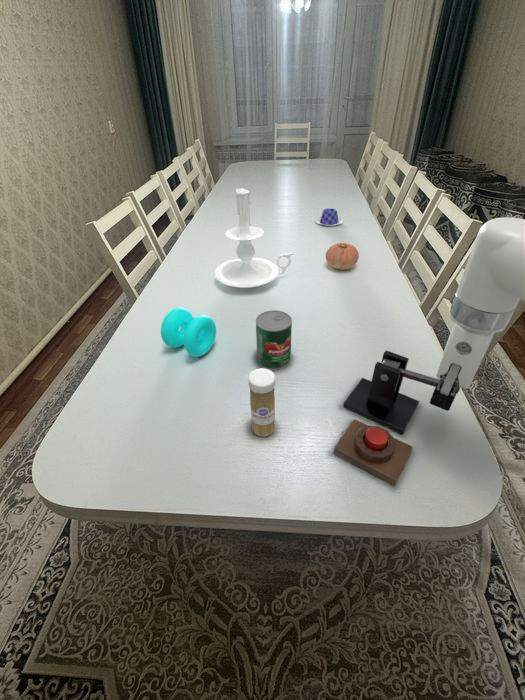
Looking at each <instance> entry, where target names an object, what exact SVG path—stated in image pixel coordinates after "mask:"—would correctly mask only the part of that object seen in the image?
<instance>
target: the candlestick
mask: <svg viewBox="0 0 525 700" xmlns="http://www.w3.org/2000/svg"><path fill="white" fill-rule="evenodd" d="M250 198H251V197H250V190H248V189H246V188H244V187H240V188H236V189H235V201H236V208H237V215H238V225H239V226H234V227H232V228H229V229H228V230H226V231H225V232H224V234H225V237H227V238H228V239H230V240H235V241H238V245H237V247H236V250H235V254H236V256H237V258H235V259H231V260H226V261H224V262H223V263H221V264H219V265H217V267H216V268H215V269H214V271H213V276H214V278H215V279H216V280H217V282H219V283H221V284H223V285H225V286H228V287H233V288H237V289H253V288H258V287H260V286H264V285H266V284H269V283H271V282H272V281H274V280H275V279H277V278H278V276H279V275H283V274H285V272H286V270H287V268H289V267H290V265H291V263H292V261H291V256H293V252H289V253H282V254H281V253H280V254H279V255H278V256H277V257H276V260H275V263H276V264H275V263H274V262H272V261H270V260H267V259H263V258H259V257H255V254H256V249H255V247H254V245H253V244H252V242H251V241H252V240H255V239H259V238H261V237H262V236H264V233H265V231H264V229H262V228H261V227H258V226H253V225H251V199H250ZM281 258H287V260H288V262H287V263H286V264H284V265H281V264H280V263H279V260H280V259H281ZM280 269H282V271H280Z"/></svg>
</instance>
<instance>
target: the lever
mask: <svg viewBox="0 0 525 700" xmlns="http://www.w3.org/2000/svg"><path fill="white" fill-rule="evenodd" d="M383 364H385V365H388V366H391V367H393V368H396V369H398V370H401V374H400V376H402V377H403V378H406V379H408V380H412V381H415V382H417V383H422V384H425V385H428V386H431V387H434V388H435V387H436V385H437V386H438V384H439V381H440V379H438V378H437V377H433V376H429V375H426V374H423V373H420V372H416V371H413V370H409V369H407V368H406V369H403V368H400V365H401V363H400V362H396V361H393V360H390V359H385V360H384V362H383ZM444 382H445V380H444V381H443V383H444ZM454 386H455V383H453V385H452V387H453V388H454ZM460 390H461V387H460V386H458V388H457V390H456V392H455V393H457V394H458V393H459V392H460Z"/></svg>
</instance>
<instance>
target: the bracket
mask: <svg viewBox="0 0 525 700" xmlns="http://www.w3.org/2000/svg"><path fill="white" fill-rule="evenodd" d="M385 359H390V360H393V361H396V362H400V363H401V365H400V368H403V369H406V370H407V366H408V365H409V360H410V358H409V357H406V356H404V355H400V354H397V353H395V352H392V351H389V350H387V349H386V350H385V351H383V354H382V358H381V362H380V361H376V362H375V364H374V369H373V373H372V376H371V380H369V379H367V378H364V377H362V378H361V379H360V380H359V381H358V383H357V384H356V385H355V387H354V388H353V390H352V391H351V393H349V395H348V396H347V398H346V399H345V401H344V402H343V408H344V409H347V410H349V411H350V412H353V413H355V414H357V415H360V416H361V417H364V418H366V419H369V420H370V421H372V422H375V423H377V424H379V425H381V426H383V427H384V428H387V429H390V430H392V431H394V432H395V433H398V434H400V435H403V434H404V432H405V431H406V428H407V427H408V425H409V423H410V421H411V420H412V418H413V414H414V413H415V411H416V409H417V407H418V405H419V403H420V401H419V400H418V399H415V398H413V397H410V396H408V395H406V394H403V393H401V392H400V390H401V387H402V383H403V379H404V377H402V376H400V374H401V370H398V369H396V368H393V367H391V366H388V365H385V364H383V362H384V360H385Z"/></svg>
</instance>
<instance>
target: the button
mask: <svg viewBox="0 0 525 700" xmlns="http://www.w3.org/2000/svg"><path fill="white" fill-rule="evenodd" d="M380 428H381V427H380ZM380 428H377V427H372V428H369V429H368V430H367V431H366V434H365V438H364V442H365V444H366V446H367V447H368V448H370V449H372V450H376V451H379V450H382V449H384V448H385V446H386V443H387V440H388V436H387V434H386V432H385V431H384V430H382V429H380Z"/></svg>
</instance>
